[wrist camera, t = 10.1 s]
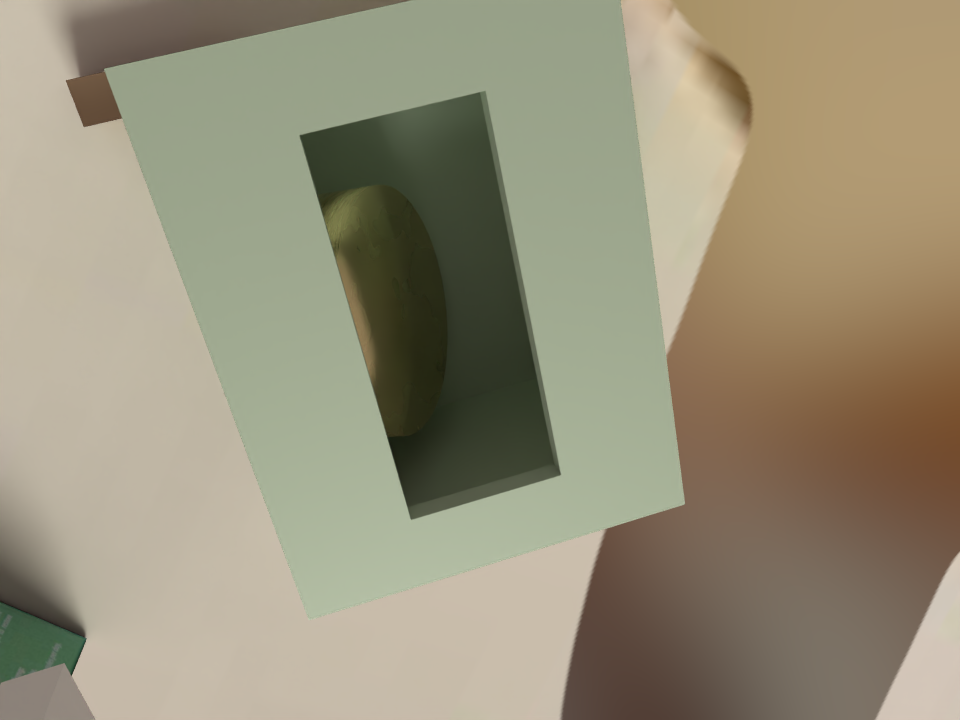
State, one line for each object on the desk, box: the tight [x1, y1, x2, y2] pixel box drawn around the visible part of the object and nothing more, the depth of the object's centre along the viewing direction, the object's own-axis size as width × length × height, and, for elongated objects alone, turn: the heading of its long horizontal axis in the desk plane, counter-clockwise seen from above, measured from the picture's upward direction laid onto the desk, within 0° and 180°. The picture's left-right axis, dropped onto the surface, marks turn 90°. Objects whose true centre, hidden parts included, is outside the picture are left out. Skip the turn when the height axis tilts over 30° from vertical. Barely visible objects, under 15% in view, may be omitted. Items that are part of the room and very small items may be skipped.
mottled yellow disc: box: [317, 185, 448, 437], centre depth 29 cm, size 3×9×9 cm
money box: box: [104, 0, 685, 620], centre depth 28 cm, size 17×13×12 cm
